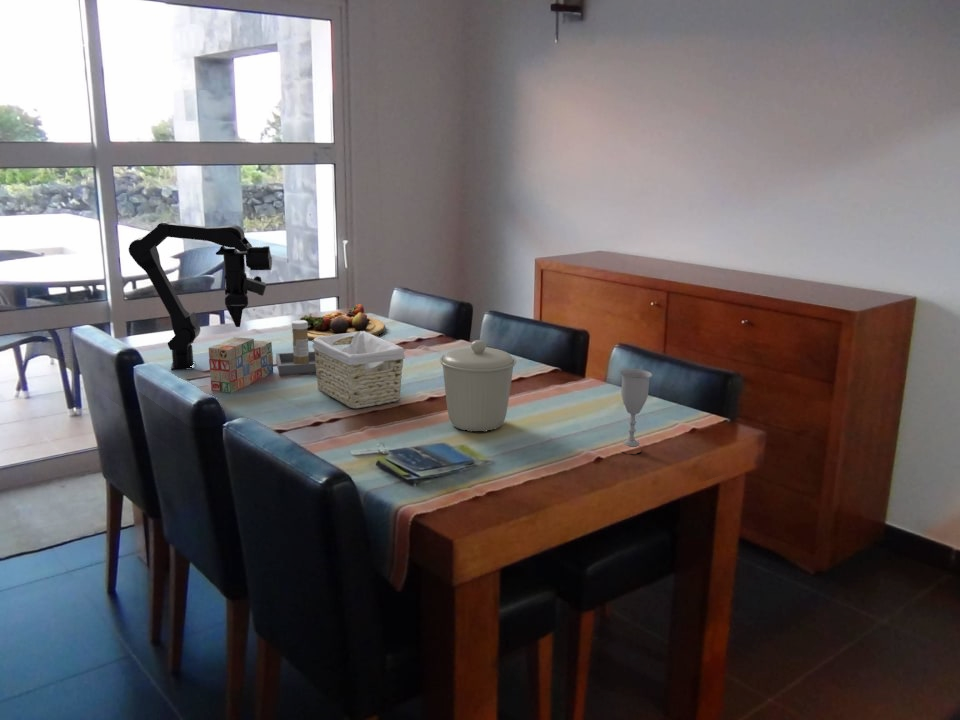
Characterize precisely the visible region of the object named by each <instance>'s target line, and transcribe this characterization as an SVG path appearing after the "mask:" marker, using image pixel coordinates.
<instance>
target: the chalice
mask: <svg viewBox="0 0 960 720" xmlns="http://www.w3.org/2000/svg"><path fill="white" fill-rule="evenodd" d="M620 375H621V390H620V392H621V398H622V402H623V405H624V407H625V409H626V412H627V413H628V414H630V420H629V421H628V423H629V428H628V429H627V430H628V432H629V436H628V437H627V438H626V439H624V440H623V441H622V444H624V445H627V446H629V447H637V446H639V445H640V442H639V441H638V440H637V439H636V438H635V436H634V435H635V432H636V431H637V430H636V429H635V425H636V423H637V421H636V415H639V414H640V413H641V411H642V409H643V407H644V406H645V404H646V402H647V399H648V397H649V388H650V387H649V386H650V379H651V377H652V376H653V374H652V372H650V371H647V370H644V369H638V368H626V369H623V370H621V371H620Z"/></svg>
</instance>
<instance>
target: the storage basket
mask: <svg viewBox="0 0 960 720" xmlns="http://www.w3.org/2000/svg"><path fill="white" fill-rule="evenodd" d="M312 342H313V343H312V348H313V349H314V351H315V361H316V362H315V366H316V374H315V375H316V381H317V382H316V383H317V389H318V390H319V391H320V392H323V393H324V394H326V395H328V396H329V397H331V398H333V399H334V400H337V401H338V402H339V403H342V404H343V405H345V406H347V407H348V408H351V409H361V408H368V407H373V406H374V407H375V406H376V405H377V406H379V405H383V404H389V403H392V402H393V403H394V402H397V401H399V400H400V398H401V390H402V389H401V387H402V379H403V378H402V373H403V368H404V367H403V366H404V364H403V363H404V359H405V358H406V357H405V350H404V348H403V347H401V346H400V345H397V344H395V343H393V342H391V341H389V340H385V339H383V338H381V337H379V336H374V335H372V334H370V333H367V332H365V331H359V332H352V333H344V334H336V335H329V336H322V337H316V338H315V339H314V340H313V341H312ZM341 345H342V346H343V345H349V346H348V347H346V348H343V349H342V350H340V349H338V348H337V347H335V346H341Z"/></svg>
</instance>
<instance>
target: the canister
mask: <svg viewBox="0 0 960 720" xmlns="http://www.w3.org/2000/svg"><path fill="white" fill-rule="evenodd" d="M486 346H487V345H486V343H485V341H484V340H480V339H476V340H473V341H472V342H471V344H470V347H469V346H467V347H462V348H461V347H460V348H455V349H453V350H451V351H448V352H447V353H445V354H444V355H441V357H440V359H439V363H440V364H441V365H442V373H443V382H444V391H445V400H446V408H447V414H448V415H447V416H448V419H449V421H450V423H451V424H452V425H453V427H455V428H456V429H459V430H462V431H465V430H467V432H472V431H484V432H487V431H486V430H491V431H493V430H492V429H494V430H496V429H495V428H497V429H498V427H499V428H500V427H501V426H502V425H503V423H504V422H505V420H506V417H507V414H508V413H507V412H508V411H507V410H508V406H509V400H510V394H511V386H512V379H513V373H514V366H516V364H517V359H516V357H514V356H513V355H511V354H510V353H509V352H507V351H505V350H501V349H498V348H493V347H486ZM500 425H501V426H500Z"/></svg>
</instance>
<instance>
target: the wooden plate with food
mask: <svg viewBox="0 0 960 720" xmlns="http://www.w3.org/2000/svg"><path fill="white" fill-rule="evenodd" d="M347 311H348V313H345V312H340V311H336V310H335V311H332V312H330V313H329V312H328V313H326V314H324V315H322V316H313V315H312V313H310V314H309V315H306V314H305V315H304V316H301V317H300V318H299V320H305V321H307V322H308V328H307V333H308V341H310V340H314V339H315V338H316V337H322V336H329V335H336V334H344V333H352V332H359V331H365V332H367V333H370V334H372V335H374V336H376V337H378V336H380V335H382V334H383V333H384V332H385V330H386V324H385V323H384V322H383V321H381V320H379V319H377V318H373V317H369V316H368V314H366V313H365V308H364V305H362V304H361V303H359V304H356V305H355V307H354V306H352V307H350V309H349V310H347ZM291 329H292V331H291V333H293V328H291ZM381 333H382V334H381ZM379 334H380V335H379ZM377 335H378V336H377Z"/></svg>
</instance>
